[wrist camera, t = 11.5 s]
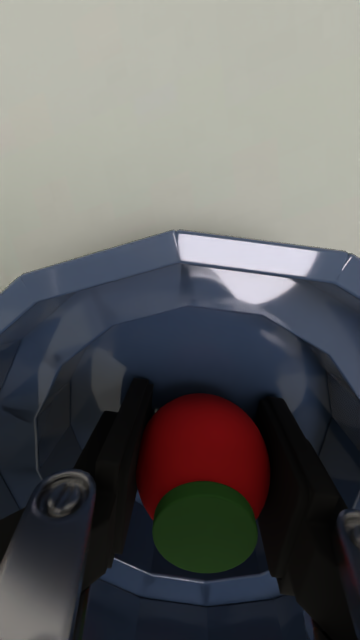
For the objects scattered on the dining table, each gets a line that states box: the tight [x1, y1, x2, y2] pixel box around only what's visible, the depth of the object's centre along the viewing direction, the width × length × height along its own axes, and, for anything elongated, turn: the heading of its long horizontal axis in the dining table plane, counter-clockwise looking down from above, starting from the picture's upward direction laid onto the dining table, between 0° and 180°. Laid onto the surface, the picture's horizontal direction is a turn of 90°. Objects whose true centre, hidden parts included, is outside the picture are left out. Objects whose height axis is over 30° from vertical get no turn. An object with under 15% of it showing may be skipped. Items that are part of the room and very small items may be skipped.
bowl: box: [0, 229, 360, 640], centre depth 8 cm, size 13×13×5 cm
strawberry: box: [136, 393, 270, 573], centre depth 8 cm, size 4×4×4 cm
